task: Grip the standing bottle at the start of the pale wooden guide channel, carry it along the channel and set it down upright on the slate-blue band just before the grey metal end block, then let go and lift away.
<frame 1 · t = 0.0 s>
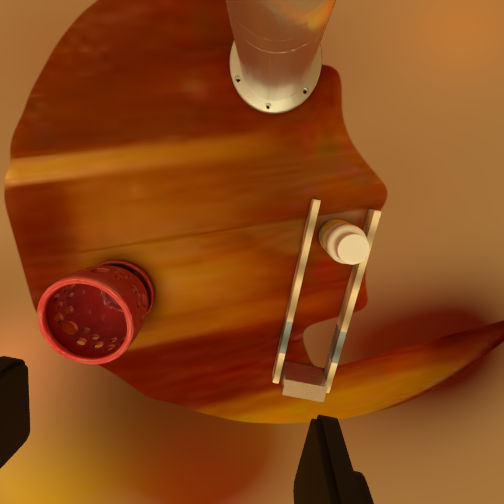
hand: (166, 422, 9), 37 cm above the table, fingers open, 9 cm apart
supplement bottle: (334, 235, 44), on the table
guide channel: (322, 287, 46), on the table
plant pot: (127, 290, 48), on the table
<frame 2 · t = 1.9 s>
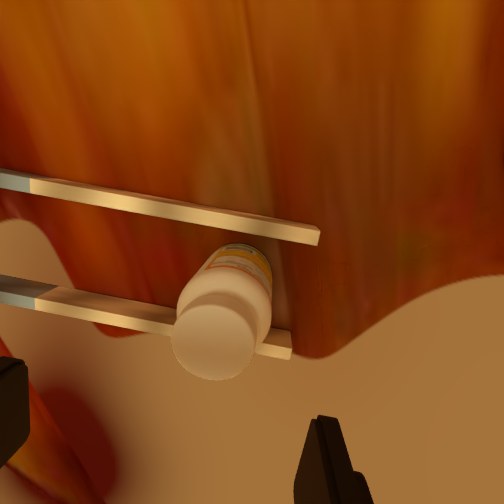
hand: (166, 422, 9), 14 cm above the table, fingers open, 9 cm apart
supplement bottle: (239, 274, 22), on the table
guide channel: (129, 254, 22), on the table
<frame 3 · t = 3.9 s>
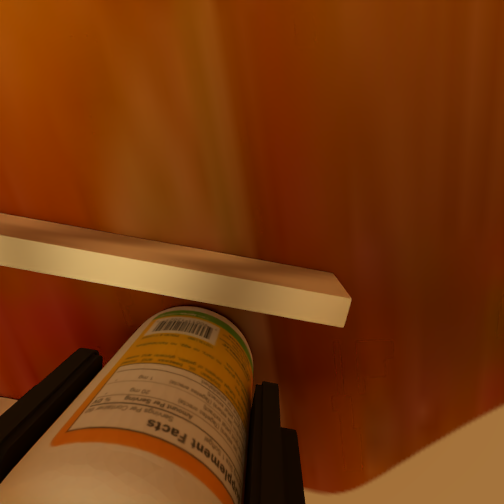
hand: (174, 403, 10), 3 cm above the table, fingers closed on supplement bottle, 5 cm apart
supplement bottle: (194, 356, 12), on the table, touching gripper
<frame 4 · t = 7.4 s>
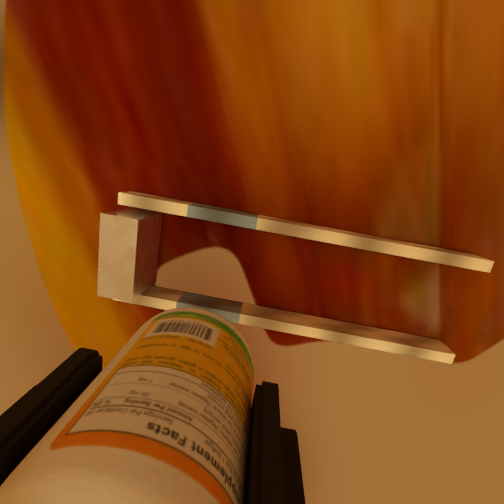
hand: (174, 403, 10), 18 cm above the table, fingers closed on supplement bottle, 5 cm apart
supplement bottle: (194, 357, 12), point 15 cm above the table, touching gripper
guide channel: (310, 276, 27), on the table
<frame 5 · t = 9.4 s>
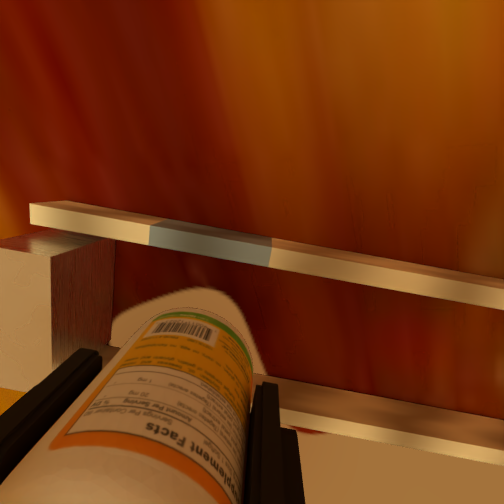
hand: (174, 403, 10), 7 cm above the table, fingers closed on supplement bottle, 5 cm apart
supplement bottle: (194, 357, 12), point 5 cm above the table, touching gripper
guide channel: (353, 334, 17), on the table
when the fingers open (4 cm above the table, at t = 11.0 s): supplement bottle drops 1 cm, on the table.
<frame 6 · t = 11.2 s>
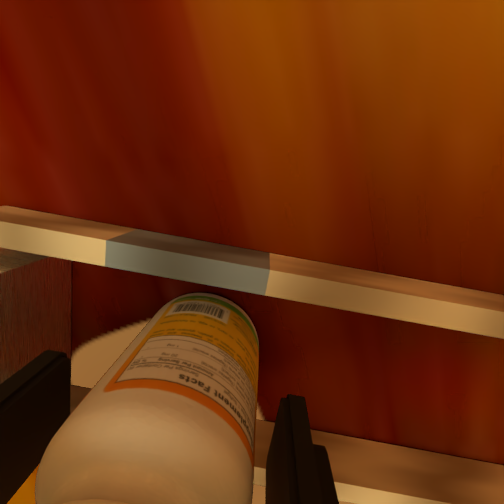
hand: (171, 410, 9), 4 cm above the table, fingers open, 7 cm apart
supplement bottle: (206, 338, 14), on the table
guide channel: (371, 372, 13), on the table
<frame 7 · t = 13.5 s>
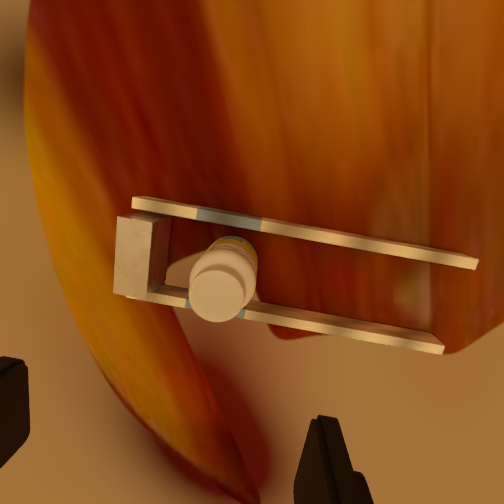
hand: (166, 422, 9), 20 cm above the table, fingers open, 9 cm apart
supplement bottle: (232, 259, 29), on the table
guide channel: (310, 274, 29), on the table
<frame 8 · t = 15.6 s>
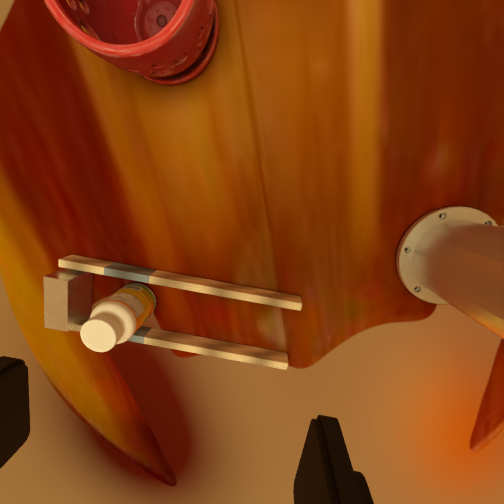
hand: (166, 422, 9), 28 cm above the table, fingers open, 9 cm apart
supplement bottle: (139, 299, 39), on the table
guide channel: (195, 310, 39), on the table
plant pot: (170, 36, 31), on the table
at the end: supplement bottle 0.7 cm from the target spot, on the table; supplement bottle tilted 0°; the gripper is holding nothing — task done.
